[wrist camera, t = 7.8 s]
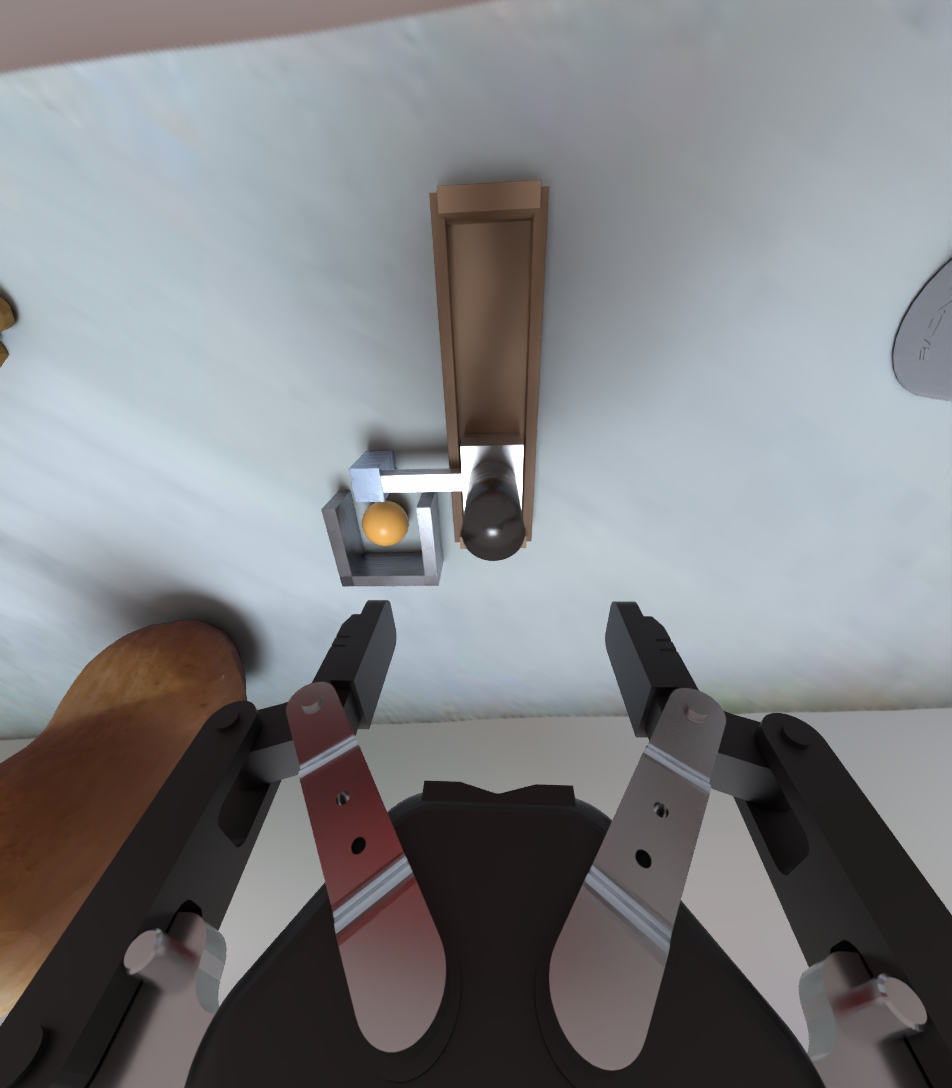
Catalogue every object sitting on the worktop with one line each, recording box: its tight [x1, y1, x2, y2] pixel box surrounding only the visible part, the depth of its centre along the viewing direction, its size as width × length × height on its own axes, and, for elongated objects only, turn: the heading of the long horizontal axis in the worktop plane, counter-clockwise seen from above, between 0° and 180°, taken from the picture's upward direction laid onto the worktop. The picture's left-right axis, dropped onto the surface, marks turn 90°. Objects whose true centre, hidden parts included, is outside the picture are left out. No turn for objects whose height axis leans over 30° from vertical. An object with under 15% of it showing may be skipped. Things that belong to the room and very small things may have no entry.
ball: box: [362, 501, 409, 546], centre depth 29 cm, size 4×4×4 cm
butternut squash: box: [0, 620, 247, 1017], centre depth 29 cm, size 14×13×25 cm
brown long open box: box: [429, 180, 549, 549], centre depth 24 cm, size 6×20×4 cm, turn 2°
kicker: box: [349, 433, 525, 561], centre depth 23 cm, size 12×5×11 cm, turn 92°
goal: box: [321, 491, 443, 586], centre depth 30 cm, size 8×7×4 cm
